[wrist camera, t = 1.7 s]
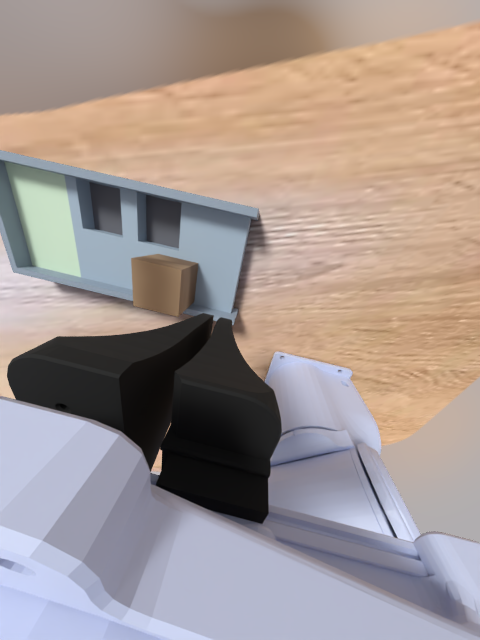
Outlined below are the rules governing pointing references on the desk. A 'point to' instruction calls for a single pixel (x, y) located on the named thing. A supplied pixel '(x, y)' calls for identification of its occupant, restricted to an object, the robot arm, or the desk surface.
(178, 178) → the desk surface
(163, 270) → the block
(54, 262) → the box
